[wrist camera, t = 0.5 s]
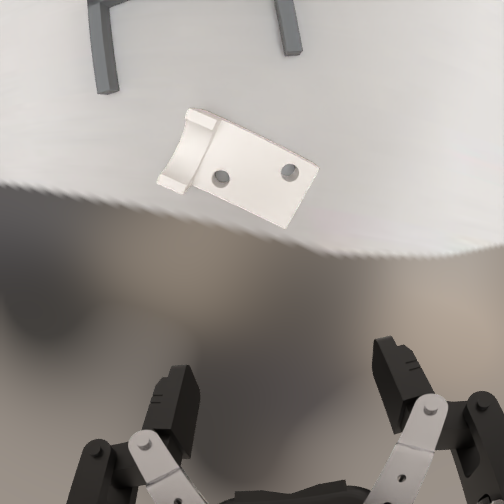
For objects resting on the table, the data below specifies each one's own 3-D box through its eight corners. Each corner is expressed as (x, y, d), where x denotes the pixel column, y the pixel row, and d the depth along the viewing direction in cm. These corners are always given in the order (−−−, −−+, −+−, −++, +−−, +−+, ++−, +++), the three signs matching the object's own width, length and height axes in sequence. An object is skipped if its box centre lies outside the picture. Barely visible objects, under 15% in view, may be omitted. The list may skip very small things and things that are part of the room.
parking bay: (96, 2, 24) (87, -3, 22) (279, -41, 23) (281, -51, 21) (107, 94, 30) (97, 94, 27) (299, 54, 28) (302, 50, 26)
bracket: (176, 168, 34) (156, 183, 27) (203, 109, 31) (188, 108, 24) (282, 218, 36) (289, 245, 29) (313, 163, 33) (328, 176, 26)
